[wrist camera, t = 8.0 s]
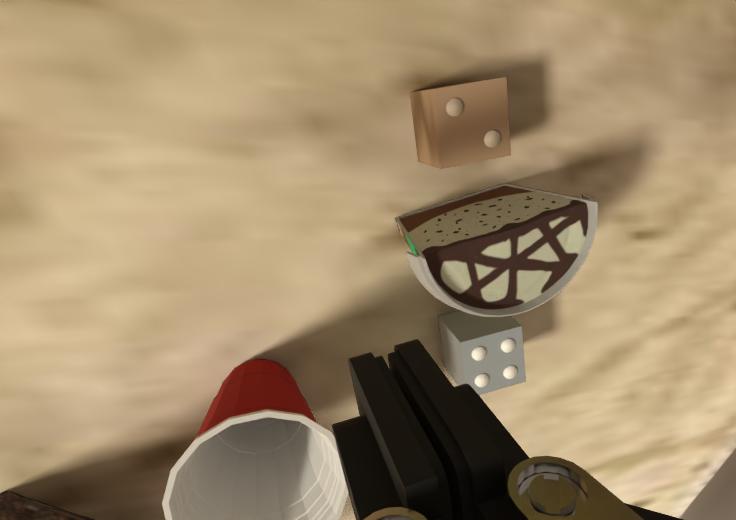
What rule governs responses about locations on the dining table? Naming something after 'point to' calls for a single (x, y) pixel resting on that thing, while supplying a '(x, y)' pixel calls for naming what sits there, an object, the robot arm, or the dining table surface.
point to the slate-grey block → (482, 350)
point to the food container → (500, 247)
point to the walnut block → (461, 123)
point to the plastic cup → (258, 455)
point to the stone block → (31, 509)
